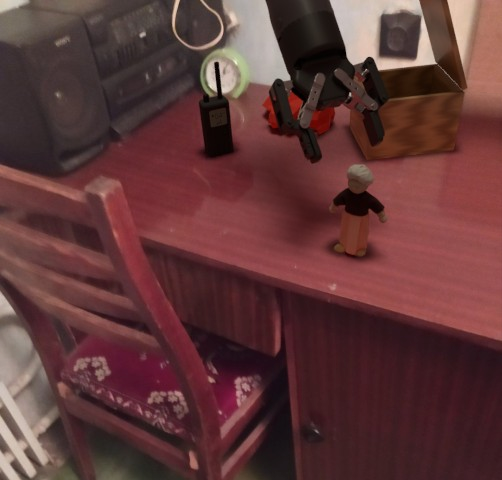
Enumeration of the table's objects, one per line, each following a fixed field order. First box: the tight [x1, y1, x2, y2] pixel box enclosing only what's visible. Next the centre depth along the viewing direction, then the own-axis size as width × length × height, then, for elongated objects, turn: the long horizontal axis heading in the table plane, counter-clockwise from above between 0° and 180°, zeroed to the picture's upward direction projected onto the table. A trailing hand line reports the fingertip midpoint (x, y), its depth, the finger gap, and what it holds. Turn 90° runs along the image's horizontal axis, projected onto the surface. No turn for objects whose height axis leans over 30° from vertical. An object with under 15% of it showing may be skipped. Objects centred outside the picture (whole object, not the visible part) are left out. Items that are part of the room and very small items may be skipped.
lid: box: [418, 0, 468, 91], centre depth 88 cm, size 15×13×5 cm
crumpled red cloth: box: [262, 91, 336, 135], centre depth 107 cm, size 12×15×5 cm
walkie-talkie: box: [198, 61, 235, 158], centre depth 97 cm, size 5×3×15 cm
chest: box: [349, 63, 465, 161], centre depth 98 cm, size 15×13×10 cm
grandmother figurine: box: [328, 163, 388, 257], centre depth 74 cm, size 8×4×13 cm, turn 73°
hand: (347, 152), depth 72 cm, fingers open, 8 cm apart
